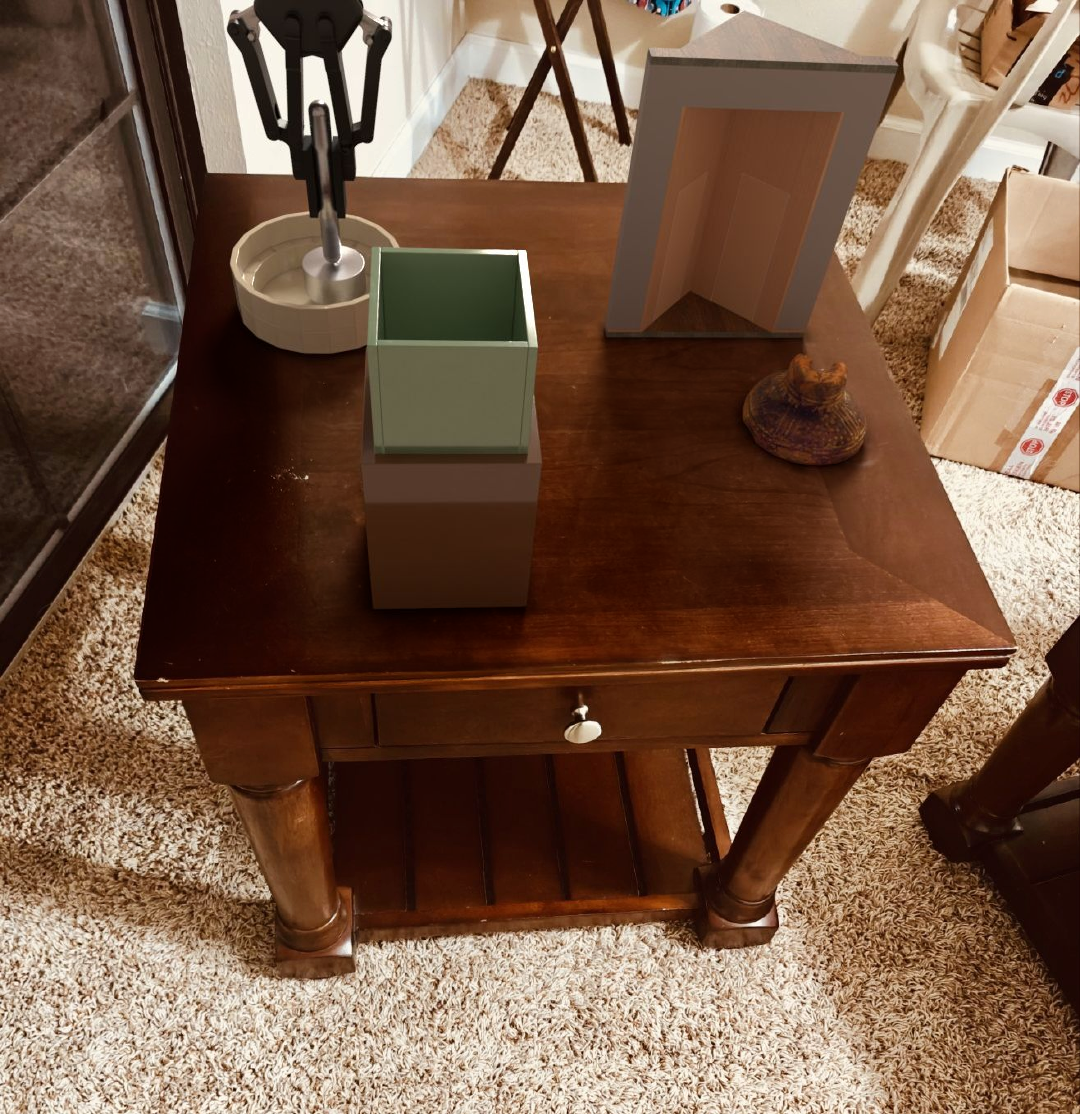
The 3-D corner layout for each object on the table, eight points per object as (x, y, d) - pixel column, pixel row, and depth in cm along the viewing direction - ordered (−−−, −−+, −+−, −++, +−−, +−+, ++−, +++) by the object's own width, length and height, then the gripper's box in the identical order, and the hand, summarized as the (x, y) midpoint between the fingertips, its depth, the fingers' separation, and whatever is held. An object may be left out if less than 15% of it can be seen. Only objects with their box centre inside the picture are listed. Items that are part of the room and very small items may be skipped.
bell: (718, 429, 93) (736, 368, 88) (778, 368, 100) (798, 308, 94) (828, 489, 89) (854, 429, 84) (883, 421, 96) (911, 362, 90)
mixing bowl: (231, 359, 94) (220, 307, 90) (249, 260, 105) (240, 208, 100) (403, 361, 96) (401, 310, 92) (404, 263, 106) (402, 213, 102)
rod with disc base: (303, 306, 96) (278, 116, 82) (307, 270, 100) (284, 82, 86) (365, 307, 97) (352, 119, 83) (367, 271, 101) (354, 85, 86)
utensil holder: (372, 609, 77) (350, 355, 58) (376, 496, 85) (358, 238, 65) (526, 606, 78) (554, 357, 59) (516, 495, 86) (538, 242, 67)
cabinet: (606, 337, 101) (651, 56, 79) (594, 280, 107) (633, 5, 86) (803, 337, 104) (898, 65, 82) (780, 282, 110) (863, 15, 88)
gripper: (401, -88, 77) (409, 190, 95) (205, -99, 76) (250, 186, 94) (401, -51, 72) (409, 234, 91) (191, -62, 71) (242, 231, 89)
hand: (328, 209), depth 92 cm, fingers closed on rod with disc base, 2 cm apart
